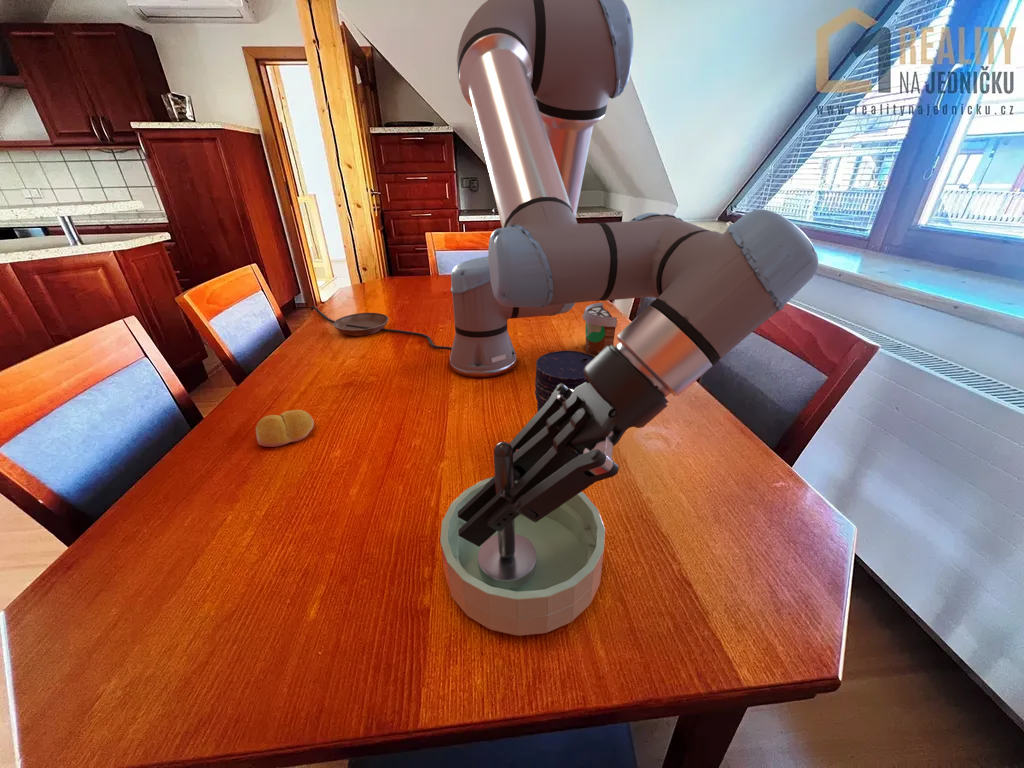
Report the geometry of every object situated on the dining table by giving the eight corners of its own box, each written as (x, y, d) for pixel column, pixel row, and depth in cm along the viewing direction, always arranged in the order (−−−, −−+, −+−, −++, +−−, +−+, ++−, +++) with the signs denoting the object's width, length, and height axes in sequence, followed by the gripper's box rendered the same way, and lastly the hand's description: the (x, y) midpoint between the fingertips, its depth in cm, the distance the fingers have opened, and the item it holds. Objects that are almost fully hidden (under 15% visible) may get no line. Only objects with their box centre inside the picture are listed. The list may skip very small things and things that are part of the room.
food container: (576, 340, 109) (578, 303, 105) (599, 339, 110) (602, 302, 105) (587, 360, 98) (590, 319, 94) (613, 359, 99) (617, 317, 94)
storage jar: (555, 474, 62) (558, 385, 56) (523, 440, 70) (522, 358, 63) (609, 454, 66) (618, 368, 60) (573, 424, 74) (577, 345, 67)
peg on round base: (467, 561, 47) (454, 442, 40) (510, 532, 51) (507, 417, 43) (503, 601, 43) (497, 475, 35) (548, 565, 46) (551, 444, 39)
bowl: (417, 557, 50) (410, 520, 47) (527, 489, 60) (527, 455, 57) (515, 679, 38) (514, 638, 35) (632, 568, 48) (638, 529, 45)
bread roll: (319, 436, 73) (313, 416, 71) (260, 454, 68) (253, 434, 66) (310, 415, 79) (304, 396, 77) (256, 430, 74) (249, 411, 73)
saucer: (400, 326, 122) (399, 317, 121) (359, 342, 111) (357, 333, 110) (366, 318, 129) (364, 309, 128) (324, 333, 118) (322, 323, 117)
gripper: (710, 439, 33) (503, 608, 38) (634, 361, 46) (488, 496, 52) (654, 384, 30) (438, 576, 35) (590, 317, 43) (440, 466, 48)
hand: (468, 528), depth 43 cm, fingers closed on peg on round base, 2 cm apart
